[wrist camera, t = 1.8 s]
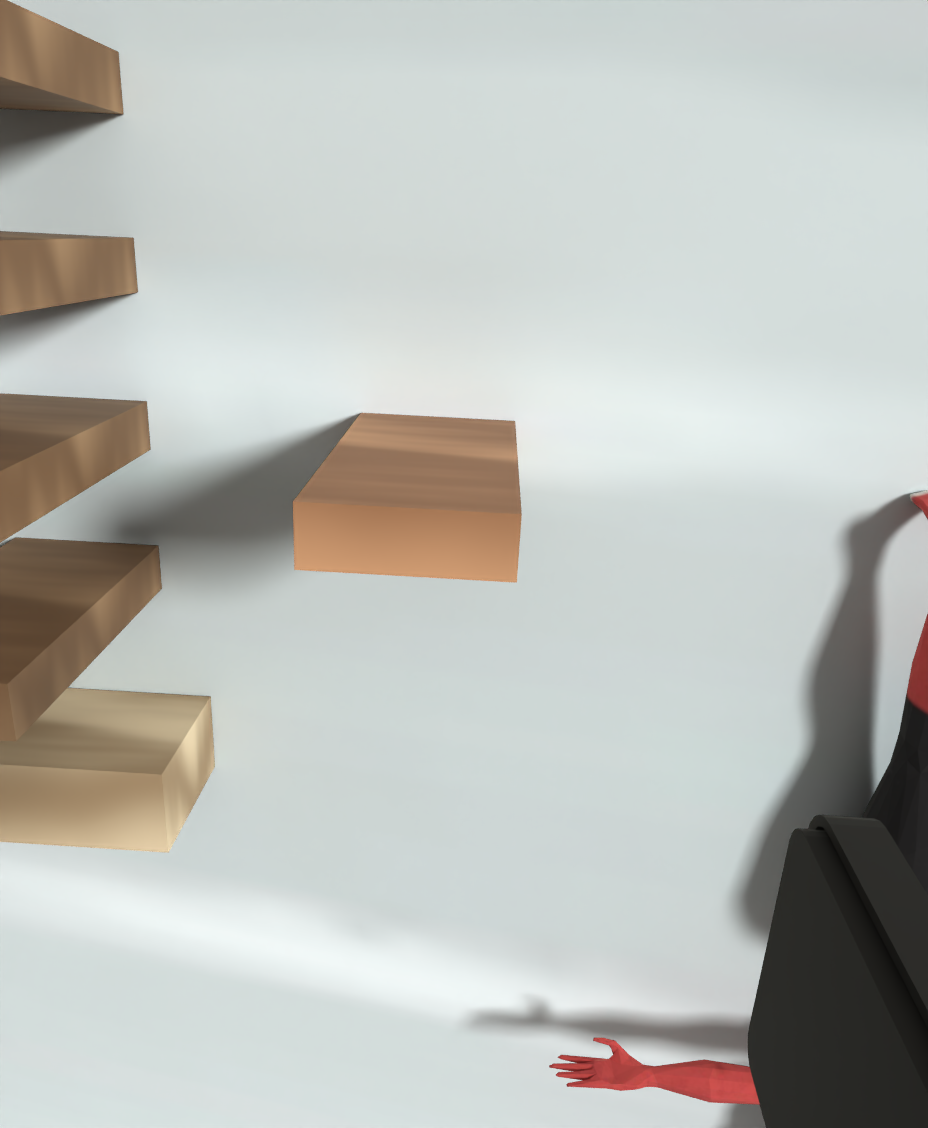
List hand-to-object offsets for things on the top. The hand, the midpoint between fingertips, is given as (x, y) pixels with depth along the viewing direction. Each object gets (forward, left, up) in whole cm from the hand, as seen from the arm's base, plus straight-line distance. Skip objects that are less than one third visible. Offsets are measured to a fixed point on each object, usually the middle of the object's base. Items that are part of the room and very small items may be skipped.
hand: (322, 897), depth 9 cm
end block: (-17, +1, -21) cm, 27 cm away
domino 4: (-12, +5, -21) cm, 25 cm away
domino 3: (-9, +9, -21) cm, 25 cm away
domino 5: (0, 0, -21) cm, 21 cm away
